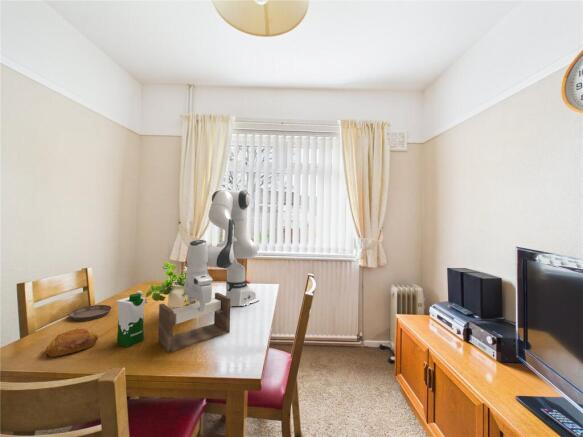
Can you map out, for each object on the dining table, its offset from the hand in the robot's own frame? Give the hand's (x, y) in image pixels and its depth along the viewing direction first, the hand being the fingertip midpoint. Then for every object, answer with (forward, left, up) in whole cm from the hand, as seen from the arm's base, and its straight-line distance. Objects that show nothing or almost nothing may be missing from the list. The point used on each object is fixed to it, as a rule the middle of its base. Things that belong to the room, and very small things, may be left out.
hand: (196, 308), depth 113 cm
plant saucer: (+30, -60, -13) cm, 68 cm away
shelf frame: (0, 0, -13) cm, 13 cm away
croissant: (+40, -24, -13) cm, 48 cm away
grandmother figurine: (+11, -46, -13) cm, 49 cm away
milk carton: (+22, -14, -13) cm, 29 cm away
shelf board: (0, 0, -3) cm, 3 cm away
